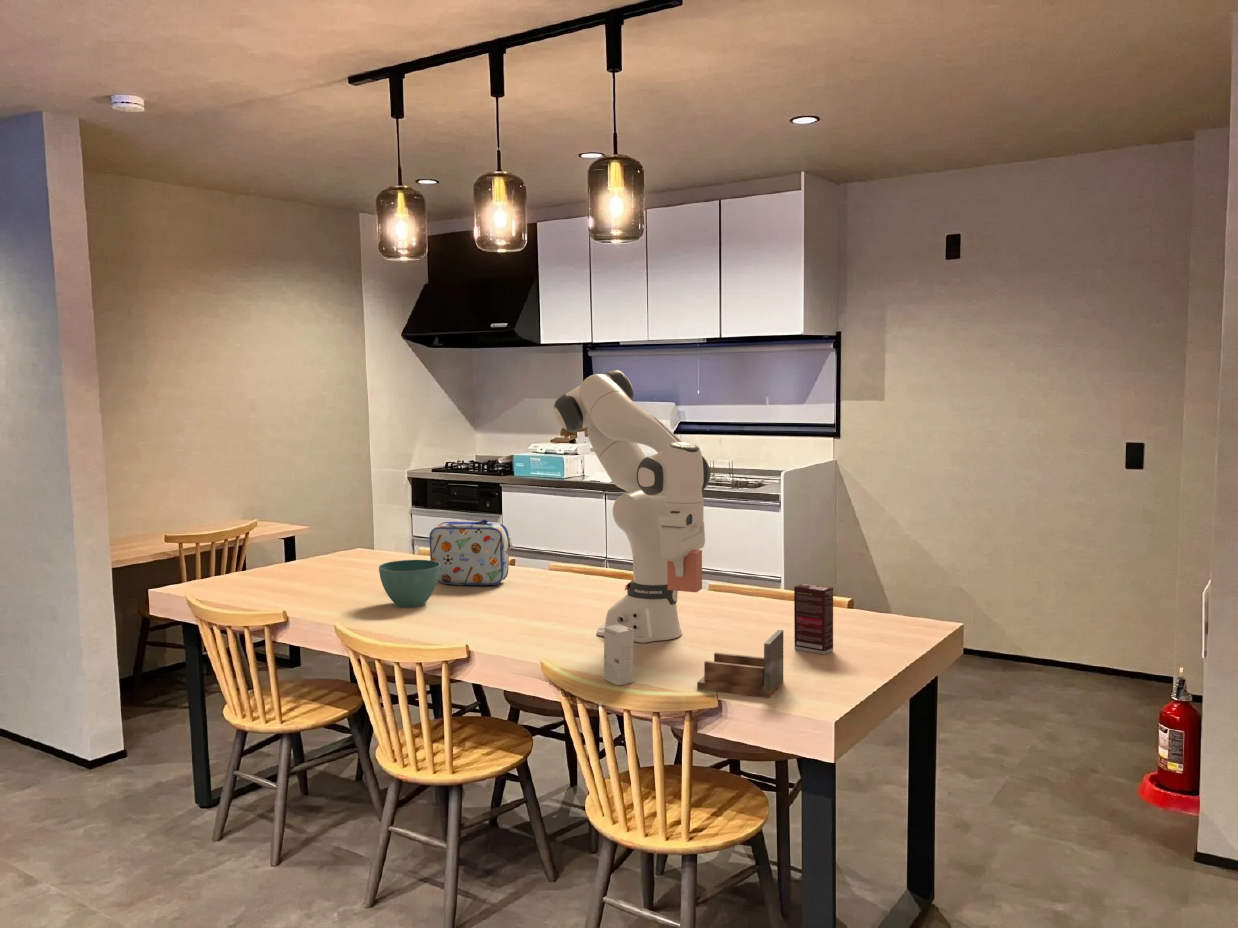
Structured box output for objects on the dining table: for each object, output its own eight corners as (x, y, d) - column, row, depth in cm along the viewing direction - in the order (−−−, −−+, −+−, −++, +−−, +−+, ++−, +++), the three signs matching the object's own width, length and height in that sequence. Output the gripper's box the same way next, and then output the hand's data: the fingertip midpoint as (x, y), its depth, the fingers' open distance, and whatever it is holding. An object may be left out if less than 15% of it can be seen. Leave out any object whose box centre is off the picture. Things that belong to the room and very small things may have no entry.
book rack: (697, 688, 206) (696, 636, 205) (714, 673, 217) (713, 623, 216) (769, 697, 200) (769, 643, 199) (783, 681, 211) (783, 630, 210)
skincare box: (602, 679, 213) (602, 626, 212) (619, 675, 216) (618, 623, 215) (618, 686, 208) (617, 632, 207) (635, 682, 211) (634, 628, 210)
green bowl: (448, 598, 298) (447, 559, 297) (431, 612, 280) (429, 570, 279) (391, 597, 299) (390, 559, 298) (371, 611, 281) (369, 570, 280)
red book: (667, 589, 218) (667, 551, 217) (673, 586, 221) (673, 548, 221) (696, 592, 215) (696, 553, 214) (702, 588, 219) (701, 550, 218)
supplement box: (834, 650, 234) (834, 587, 233) (824, 655, 230) (824, 590, 229) (802, 644, 239) (803, 582, 238) (793, 649, 236) (793, 586, 234)
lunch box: (515, 581, 323) (514, 516, 321) (508, 587, 312) (506, 521, 310) (437, 579, 326) (435, 516, 324) (427, 586, 316) (425, 520, 314)
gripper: (686, 507, 227) (686, 564, 229) (655, 519, 209) (655, 581, 210) (711, 508, 225) (711, 566, 226) (682, 520, 206) (682, 583, 207)
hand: (684, 573), depth 218 cm, fingers closed on red book, 4 cm apart
